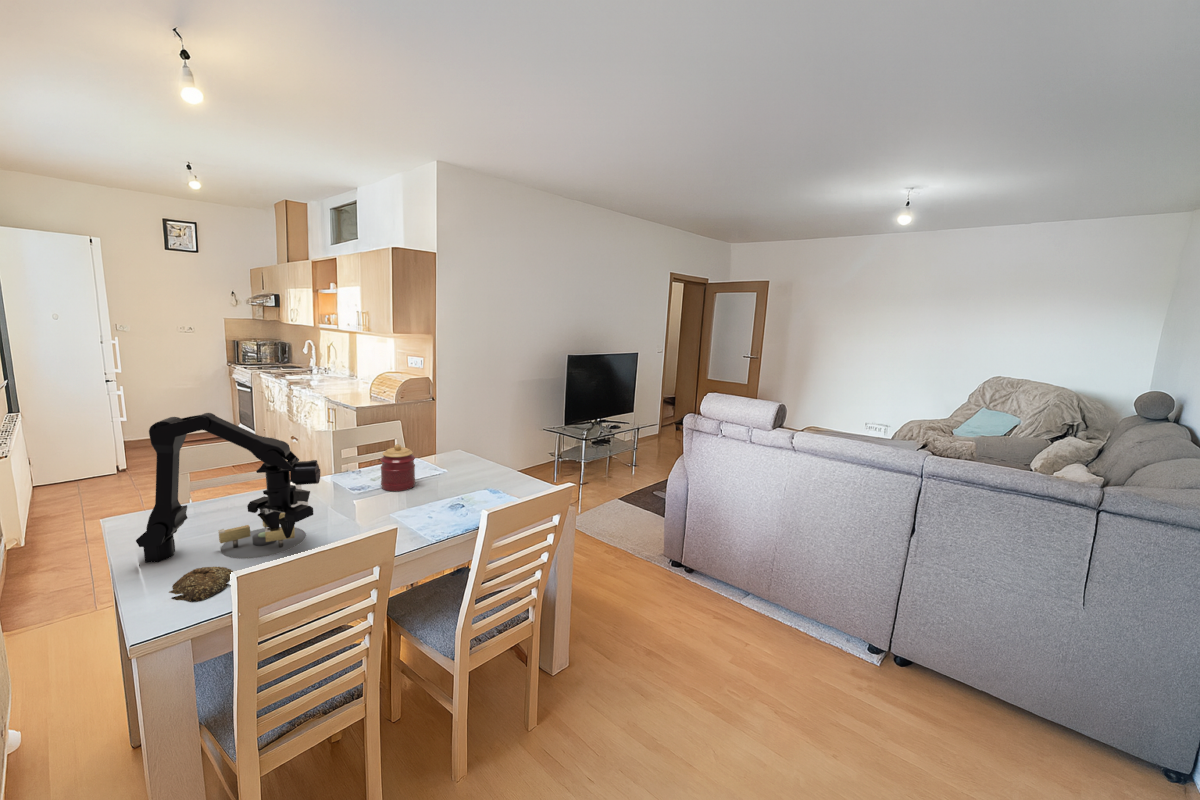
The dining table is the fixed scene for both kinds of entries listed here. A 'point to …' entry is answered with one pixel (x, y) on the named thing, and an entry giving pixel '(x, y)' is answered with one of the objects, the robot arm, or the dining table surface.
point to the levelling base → (260, 550)
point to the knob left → (234, 534)
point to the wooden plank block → (279, 518)
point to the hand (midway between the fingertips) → (282, 536)
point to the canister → (397, 469)
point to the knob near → (277, 535)
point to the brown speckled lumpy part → (201, 583)
